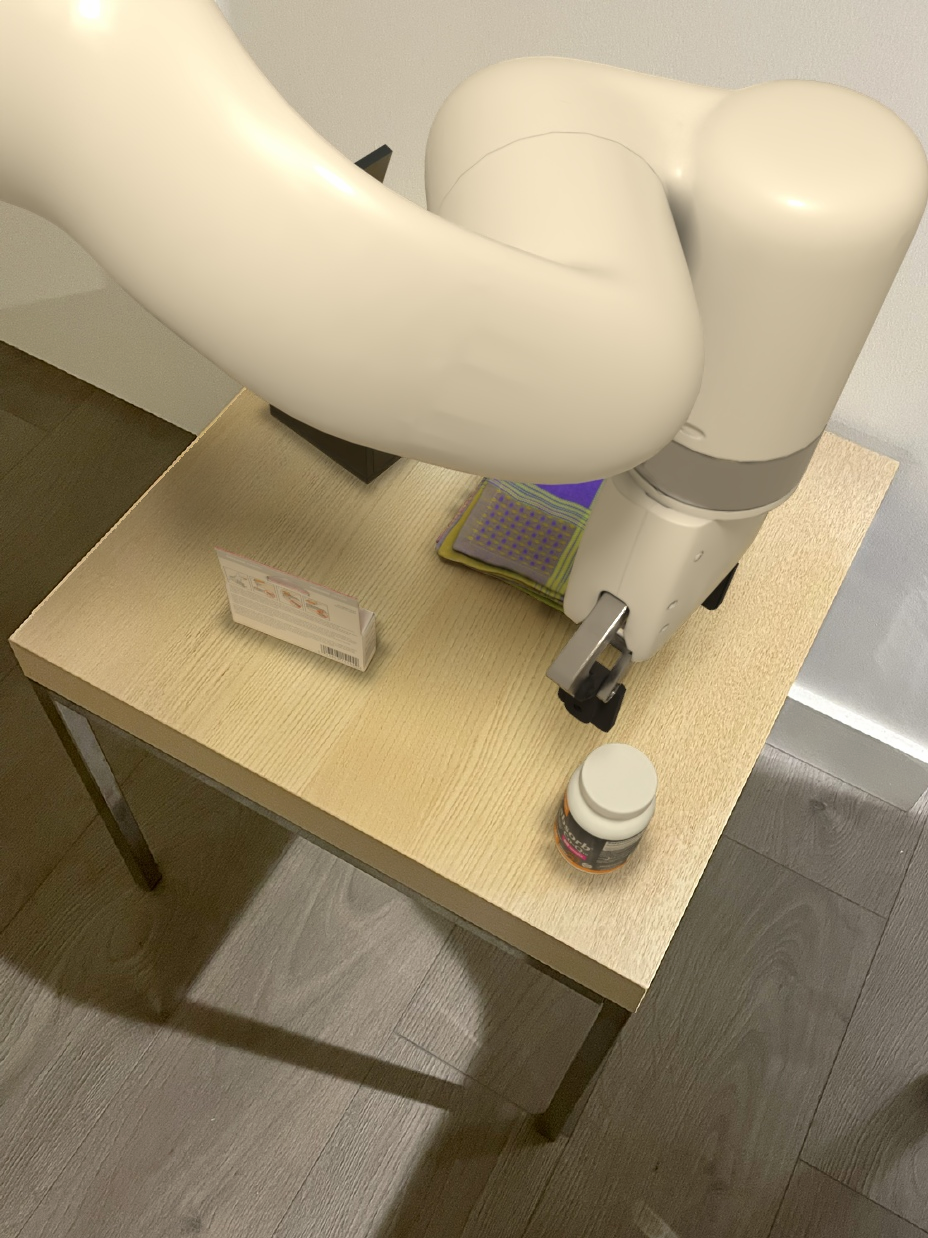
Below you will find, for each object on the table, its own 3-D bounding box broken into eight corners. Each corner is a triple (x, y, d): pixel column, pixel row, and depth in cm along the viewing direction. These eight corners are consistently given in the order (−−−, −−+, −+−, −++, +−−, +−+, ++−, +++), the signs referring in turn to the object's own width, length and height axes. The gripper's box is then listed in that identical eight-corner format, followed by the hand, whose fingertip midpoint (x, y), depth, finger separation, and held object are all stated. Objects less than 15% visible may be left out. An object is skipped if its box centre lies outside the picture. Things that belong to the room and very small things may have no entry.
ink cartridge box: (246, 599, 82) (229, 519, 74) (378, 649, 81) (375, 574, 72) (230, 623, 81) (211, 546, 73) (364, 675, 79) (360, 601, 71)
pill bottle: (537, 819, 74) (554, 756, 65) (608, 785, 75) (633, 720, 67) (579, 892, 71) (603, 836, 63) (652, 855, 73) (684, 796, 64)
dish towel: (738, 450, 93) (747, 428, 91) (625, 658, 81) (631, 639, 79) (558, 375, 97) (561, 352, 95) (424, 563, 85) (425, 542, 83)
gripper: (755, 270, 47) (675, 516, 61) (503, 499, 39) (479, 718, 53) (909, 353, 44) (788, 589, 59) (672, 614, 37) (600, 811, 51)
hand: (641, 650), depth 56 cm, fingers open, 9 cm apart
